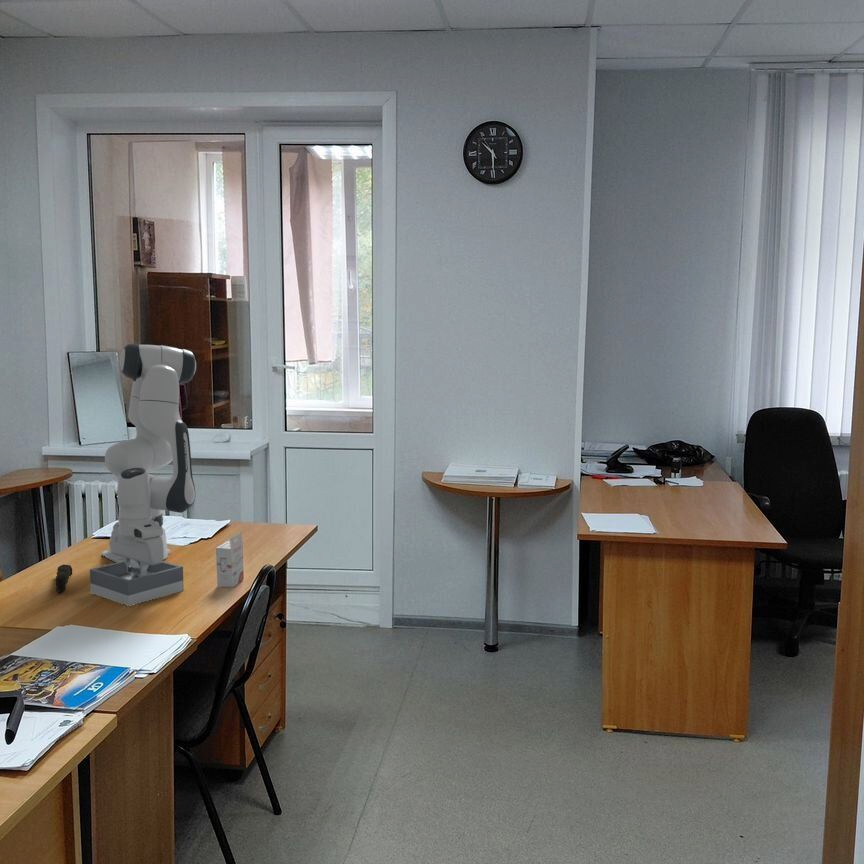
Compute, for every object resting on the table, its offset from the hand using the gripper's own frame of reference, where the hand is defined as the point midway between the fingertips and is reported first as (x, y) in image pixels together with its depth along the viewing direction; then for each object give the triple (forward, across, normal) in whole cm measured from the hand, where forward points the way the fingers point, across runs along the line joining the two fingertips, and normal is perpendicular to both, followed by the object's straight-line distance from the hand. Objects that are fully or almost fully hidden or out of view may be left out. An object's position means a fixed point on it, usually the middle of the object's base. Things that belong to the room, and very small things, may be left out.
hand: (137, 574), depth 255 cm
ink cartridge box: (+5, +14, +22) cm, 26 cm away
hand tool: (+6, -22, -10) cm, 24 cm away
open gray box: (+5, 0, 0) cm, 5 cm away
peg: (+3, 0, +1) cm, 3 cm away
